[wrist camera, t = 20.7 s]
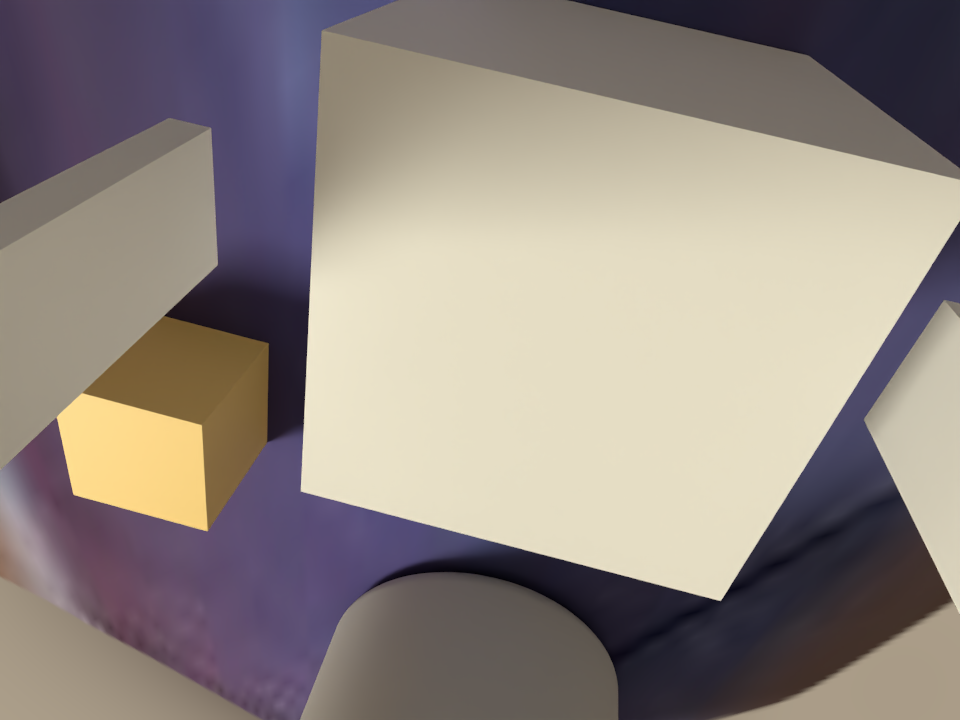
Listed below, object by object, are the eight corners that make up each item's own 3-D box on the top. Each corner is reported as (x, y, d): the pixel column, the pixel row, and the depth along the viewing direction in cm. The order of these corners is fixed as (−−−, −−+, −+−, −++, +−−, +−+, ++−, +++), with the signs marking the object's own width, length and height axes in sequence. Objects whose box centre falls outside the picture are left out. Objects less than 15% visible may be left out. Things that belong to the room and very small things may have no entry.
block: (142, 308, 23) (50, 384, 19) (269, 342, 23) (201, 425, 19) (153, 410, 26) (73, 494, 22) (267, 441, 25) (207, 531, 22)
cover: (461, -25, 16) (321, 30, 8) (808, 55, 16) (982, 184, 8) (416, 281, 20) (301, 491, 13) (683, 348, 20) (720, 601, 13)
